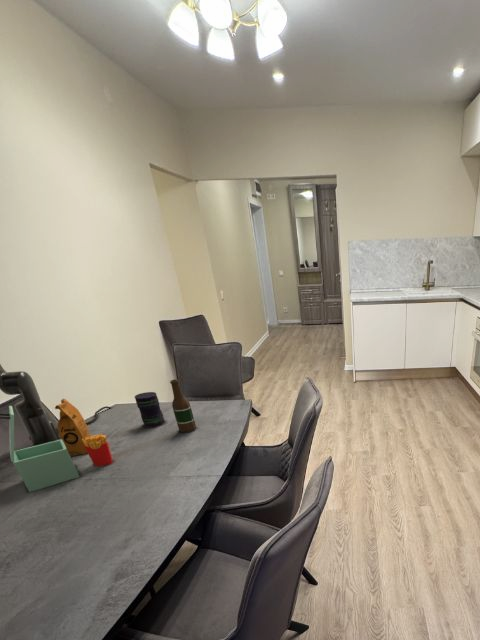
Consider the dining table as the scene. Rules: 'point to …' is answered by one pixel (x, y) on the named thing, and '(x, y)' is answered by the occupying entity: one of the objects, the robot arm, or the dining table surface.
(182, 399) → the beer bottle
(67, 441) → the coffee package
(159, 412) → the dark barrel
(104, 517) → the dining table surface
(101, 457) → the french fries
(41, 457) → the cool box
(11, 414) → the lid
